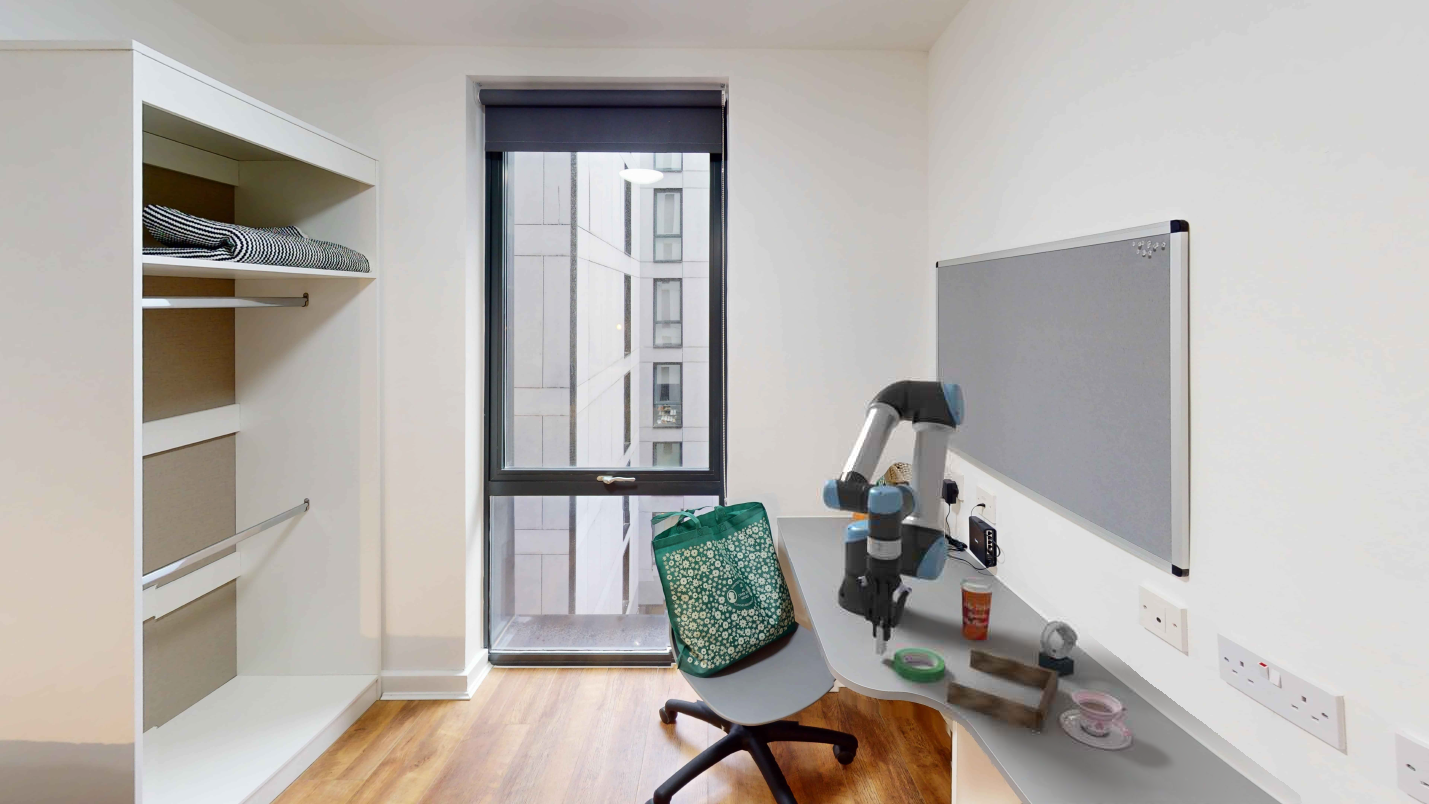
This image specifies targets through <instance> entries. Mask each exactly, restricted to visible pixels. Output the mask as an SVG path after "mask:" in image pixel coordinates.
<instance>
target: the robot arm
mask: <svg viewBox="0 0 1429 804" xmlns="http://www.w3.org/2000/svg"><path fill="white" fill-rule="evenodd" d="M865 416H866V420H865V422H864V424H863V425H862V429H861V430H860V433H859V435H858V437H857V439H856V441H855V444H854V445H853V449H852V450H851V452H850V454H849V457H848V458H847V460H846V464H845V465H844V468H843V470H842V472H841V474H840V476H839V478H829V479H828V480H827V481H826V482H825V483H824V486H823V491H822V498H823V503H824V505H825V506H826V507H827V508H829V509H833V510H838V511H840V512H842V511H844V512H851V513H856V514H857V513H858V514H864V515H867V519H861V520H856V521H853V522H851V523H849V524H848V525H847V526H846V527H845V528H846V529H845V538H844V574H843V578H842V579H841V583H840V586H839V589H838V593H837V602H838V604H839V606H841V607H842V608H844V609H846V610H847V611H850V612H853V613H857V614H863V615H864V619H865V620H866V622H867V621H868V622H871V624H872V636H873V638H875V640H876V641H875V654H877V655H880V656H882V655H884V654H885V653H886V651H887V647H888V646H887V645H888V641H889V640H890V639H891V638H892V637H891V636H892V635H891V633H892V629H895V628H896V627H897V626H898V625H900V621H901V619H902V615H903V612H904V608H905V605H906V602H907V599H908V597H909V596H910V594H911V593H912V591H913V590H912V588H910V586H909V587H907V586H906V585H904V584H903V580H902V577H903V576H905V577H910V578H915V579H917V580H924V581H926V580H927V581H935V580H937V579H938V578H939V577H940V576H941V575H942V573H943V570H944V567H945V564H946V561H947V558H948V553H949V540H948V539H947V538H946V537H945V536H944V530H943V528H942V527H941V526H940V525H939V518H940V510H941V509H940V508H941V502H942V493H943V486H944V478H945V470H946V464H947V463H946V462H947V453H948V448H949V447H948V446H949V439H950V437H951V436H952V435H953V434H955V433H956V429H957V426H961V425H963V423H964V421H965V420H964V419H965V403H964V395H963V391H962V388H961V386H960V385H959V384H958V383H956V382H949V381H944V380H941V381H931V380H927V381H926V380H911V379H910V380H909V379H904V380H899V381H896V382H894V383H890V384H889V385H888V386H886V387H885V388H883V389H881V390H880V391H879V392H878V393H877V394H876V395H875V396H874V397H873V399H872V400H871V401H870V402H869V405H868V406H867V409H866V411H865ZM902 421H906V422H911V428H913V430H914V431H915V433H916V434H915V440H914V449H913V456H912V463H911V469H910V477H909V478H910V479H909V485H908V484H905V483H904V484H903V483H902V484H901V483H900V484H895V485H892V486H891V485H883V484H882V485H881V484H873V483H871V480H872V479H873V476H874V473H875V472H876V469H877V466H878V464H879V462H880V460H881V457H882V455H883V453H884V451H885V450H884V449H886V445H887V443H888V441H889V439H890V436H891V433H892V431H893V429H895V428H897V427H898V425H899V424H900V422H902ZM901 576H902V577H901ZM897 590H898V595H899V596H898V598H897V601H896V603H895V604H896V605H895V607H894V593H895V592H896V591H897ZM892 607H893V608H894V611H893V608H892Z"/></svg>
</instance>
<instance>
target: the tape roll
mask: <svg viewBox="0 0 1429 804" xmlns="http://www.w3.org/2000/svg"><path fill="white" fill-rule="evenodd" d="M893 655H894V656H893V670H894V671H895V673H897V674H898V676H900V677H902V678H903V679H906V680H909V682H910V681H911V682H915V683H921V684H931V683H936V682H939V681H941V680H943V679H944V677H945V673H946V661H944V659H943V658H942V657H941V656H940V655H938V654H937V653H935V652H932V651H930V650H927V649H922V648H916V647H914V648H913V647H908V648H903V649H899V650H897V651H895V653H894V654H893ZM911 661H912V662H921V663H926V664H928V665H930V666H932V667H931V668H918V667H914V666H911V665H909V664H907V662H911Z"/></svg>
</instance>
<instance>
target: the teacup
mask: <svg viewBox="0 0 1429 804" xmlns="http://www.w3.org/2000/svg"><path fill="white" fill-rule="evenodd" d="M1070 696H1071V699H1072V700H1073V702H1074V704H1075V705H1076V707H1077V709H1071V710H1066V711H1063V712H1062V713H1061V714H1060V716H1059V720H1058V721H1059V725H1060V726H1061V728H1062V730H1063V731H1064V732H1065V733H1067V734H1068V735H1069V736H1070V737H1072V738H1074V739H1076V740H1077V741H1079V742H1081V743H1083V744H1086V745H1088V746H1091V747H1095V748H1099V749H1103V750H1114V751H1116V750H1122V749H1125V748H1128V747H1129V746H1130V745H1131V744H1132V741H1133V737H1132V735H1131V732H1130V731H1129V730H1128V728H1127V727H1126V726H1124V725H1123V724H1122V723H1120V722H1121V721H1123V719H1124V718H1125V716H1126V712H1125V711H1127V708H1125V707H1123V705H1122V703H1121V702H1120V701H1119V700H1118V699H1117V698H1115V697H1114V696H1111V695H1109V694H1107V693H1104V692H1101V691H1097V690H1091V689H1077V690H1075V691H1073V692H1072V693H1071V694H1070ZM1120 712H1121V715H1120V716H1119V717H1117V718H1116V719H1115V717H1116V716H1117V715H1118V714H1119V713H1120ZM1078 715H1079V716H1078ZM1069 716H1076V717H1075V718H1073V719H1072V720H1071V719H1070V718H1069ZM1066 722H1068V723H1066ZM1073 722H1075V723H1074V724H1073ZM1081 726H1082V727H1083V728H1084V729H1085V731H1086V732H1085V731H1084V730H1083V729H1082V727H1081ZM1087 732H1088V733H1087ZM1107 733H1108V736H1105V737H1101V736H1104V735H1105V734H1107ZM1090 734H1091V735H1090ZM1093 735H1094V736H1093Z"/></svg>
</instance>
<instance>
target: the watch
mask: <svg viewBox="0 0 1429 804" xmlns="http://www.w3.org/2000/svg"><path fill="white" fill-rule="evenodd" d="M1054 632H1056V633H1057V635H1059V637H1060V638H1061V641H1063V642H1062V645H1061V647H1060V648H1059V649H1058V650H1056V649H1054V648H1052V644H1051V640H1050V639H1051V637H1052V636H1053V634H1054ZM1078 639H1079V638H1078V635H1077V633H1076V632H1075V630H1074V629H1073V628H1072V626H1070V625H1069V624H1067V623H1066V622H1063V621H1061V620H1060V621H1057V620H1053V621H1050V622H1048V623H1047V625H1045V626H1044V629H1043V630H1042V632H1041V636H1040V645H1041V647H1042V650H1043V651H1039V652H1038V665H1037V666H1040V667H1043V668H1047V669H1051V670H1054V671H1058V672H1059V678H1063V677H1066V676H1071V675H1074V670H1075V669H1074V668H1075V660H1074V659H1072V658H1071V657H1069V656H1068V655H1069V654H1070V653H1071V652H1072V650H1073V649H1074V647H1075V646H1076V643H1077V640H1078Z"/></svg>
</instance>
